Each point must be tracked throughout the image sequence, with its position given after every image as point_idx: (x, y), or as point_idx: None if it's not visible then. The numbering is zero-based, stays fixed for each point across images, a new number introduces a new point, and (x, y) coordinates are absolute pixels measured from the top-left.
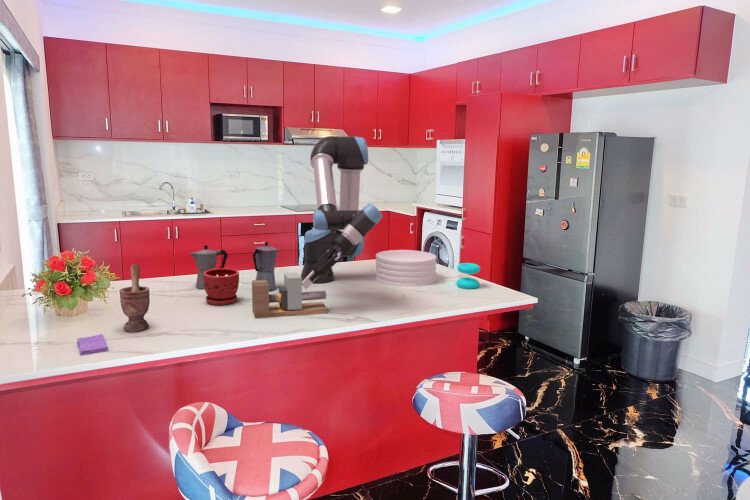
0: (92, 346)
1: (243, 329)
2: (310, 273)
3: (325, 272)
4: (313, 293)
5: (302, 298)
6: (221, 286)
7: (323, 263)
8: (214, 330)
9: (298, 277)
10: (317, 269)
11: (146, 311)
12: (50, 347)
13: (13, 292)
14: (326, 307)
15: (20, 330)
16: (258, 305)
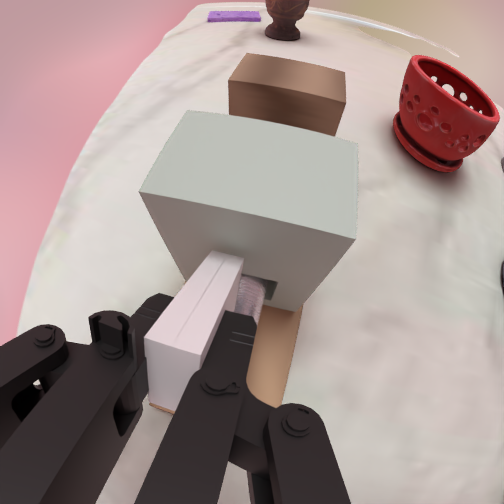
0: (220, 14)
1: (168, 111)
2: (198, 320)
3: (22, 408)
4: None
5: None
6: (403, 84)
7: (5, 455)
8: (203, 78)
9: (163, 172)
10: (74, 361)
11: (275, 14)
12: (252, 9)
13: (449, 49)
14: (171, 411)
15: (321, 10)
16: None
